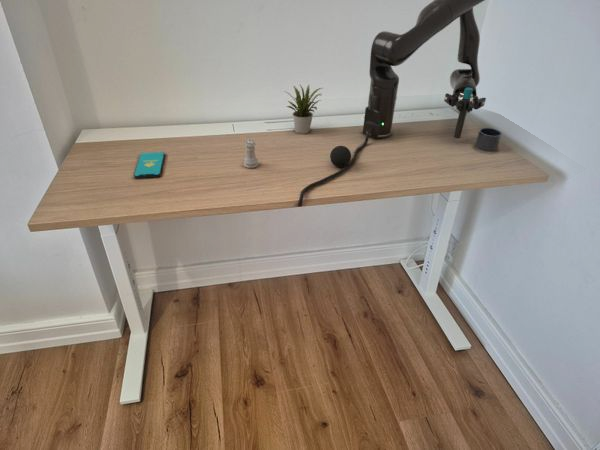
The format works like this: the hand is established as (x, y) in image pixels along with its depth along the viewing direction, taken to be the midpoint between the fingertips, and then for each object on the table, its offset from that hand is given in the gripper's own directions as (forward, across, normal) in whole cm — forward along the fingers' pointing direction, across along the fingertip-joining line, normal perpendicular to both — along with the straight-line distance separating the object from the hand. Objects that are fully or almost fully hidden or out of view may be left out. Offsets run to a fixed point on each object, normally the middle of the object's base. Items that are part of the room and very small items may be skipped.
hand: (464, 109), depth 134 cm
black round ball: (+25, -34, +13) cm, 44 cm away
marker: (-3, 0, +11) cm, 11 cm away
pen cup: (-3, +10, +14) cm, 17 cm away
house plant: (+4, -51, +13) cm, 53 cm away
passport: (+46, -88, +13) cm, 100 cm away
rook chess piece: (+35, -60, +13) cm, 70 cm away
